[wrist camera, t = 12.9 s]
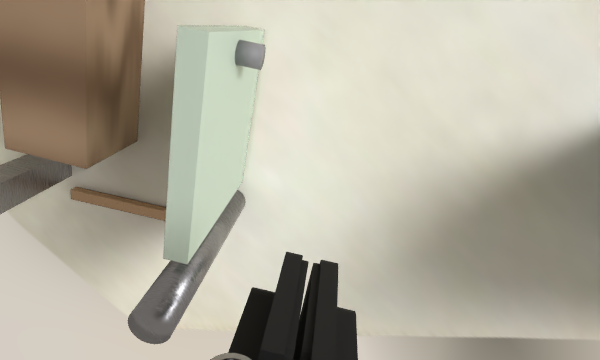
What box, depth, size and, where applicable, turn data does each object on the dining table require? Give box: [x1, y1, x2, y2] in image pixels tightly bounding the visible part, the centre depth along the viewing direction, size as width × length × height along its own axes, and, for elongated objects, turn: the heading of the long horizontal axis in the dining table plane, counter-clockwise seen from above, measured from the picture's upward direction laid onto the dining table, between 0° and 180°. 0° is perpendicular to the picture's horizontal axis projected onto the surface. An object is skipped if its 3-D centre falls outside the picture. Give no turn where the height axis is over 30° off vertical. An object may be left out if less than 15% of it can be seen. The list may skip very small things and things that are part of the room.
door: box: [163, 25, 265, 264], centre depth 21 cm, size 10×2×10 cm, turn 169°
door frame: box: [0, 154, 245, 344], centre depth 23 cm, size 4×16×13 cm, turn 79°
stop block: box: [0, 0, 145, 169], centre depth 23 cm, size 10×5×6 cm, turn 167°
